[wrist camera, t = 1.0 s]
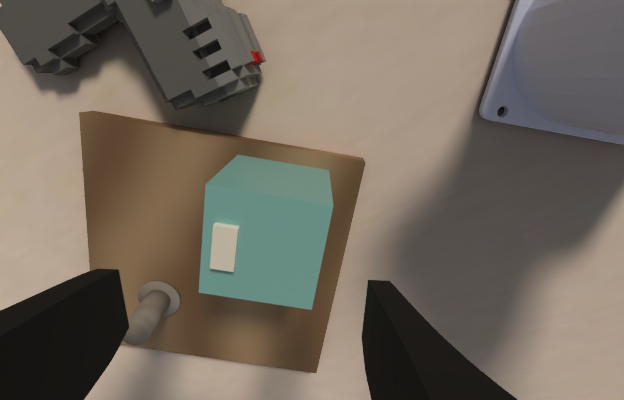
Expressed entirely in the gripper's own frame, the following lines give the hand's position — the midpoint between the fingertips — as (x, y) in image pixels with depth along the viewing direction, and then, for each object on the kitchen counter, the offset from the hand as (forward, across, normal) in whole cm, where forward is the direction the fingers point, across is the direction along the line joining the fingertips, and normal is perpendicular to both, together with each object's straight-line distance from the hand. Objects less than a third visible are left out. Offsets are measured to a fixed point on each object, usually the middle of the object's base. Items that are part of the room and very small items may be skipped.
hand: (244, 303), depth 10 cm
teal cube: (+8, 0, 0) cm, 8 cm away
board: (+9, +4, +4) cm, 10 cm away
